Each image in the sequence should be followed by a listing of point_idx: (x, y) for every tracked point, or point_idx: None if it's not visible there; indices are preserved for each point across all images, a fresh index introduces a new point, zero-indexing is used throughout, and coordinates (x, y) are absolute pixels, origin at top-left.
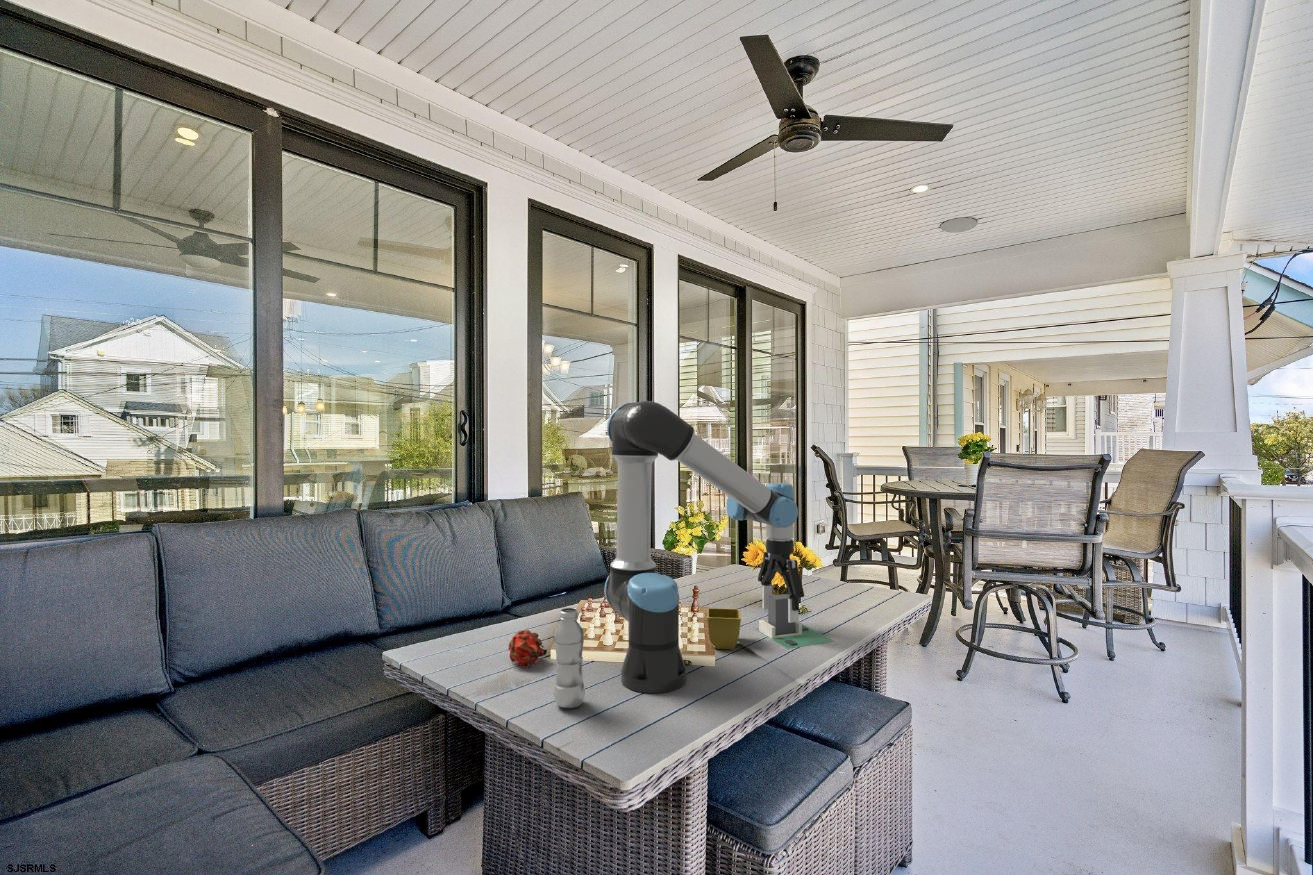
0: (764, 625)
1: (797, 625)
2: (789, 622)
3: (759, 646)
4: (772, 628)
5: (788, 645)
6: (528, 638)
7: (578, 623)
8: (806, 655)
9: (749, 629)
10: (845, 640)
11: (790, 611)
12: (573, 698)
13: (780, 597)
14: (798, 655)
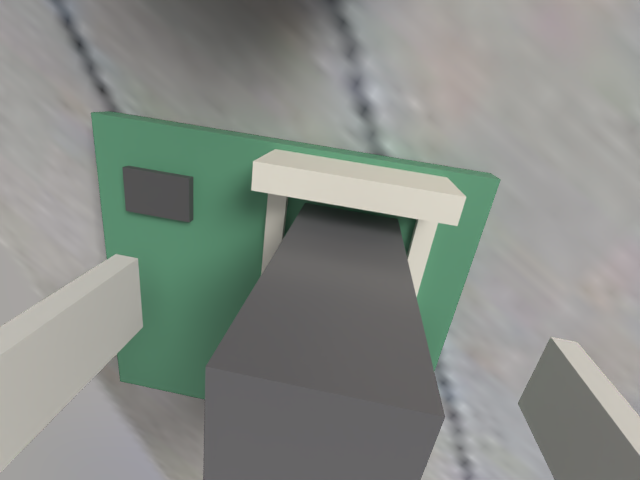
0: (371, 176)
1: None
2: (120, 255)
3: (269, 27)
4: (254, 163)
5: (135, 155)
6: None
7: None
8: (60, 180)
9: (571, 190)
10: (176, 432)
11: (36, 311)
12: None
13: (274, 478)
14: (69, 143)
